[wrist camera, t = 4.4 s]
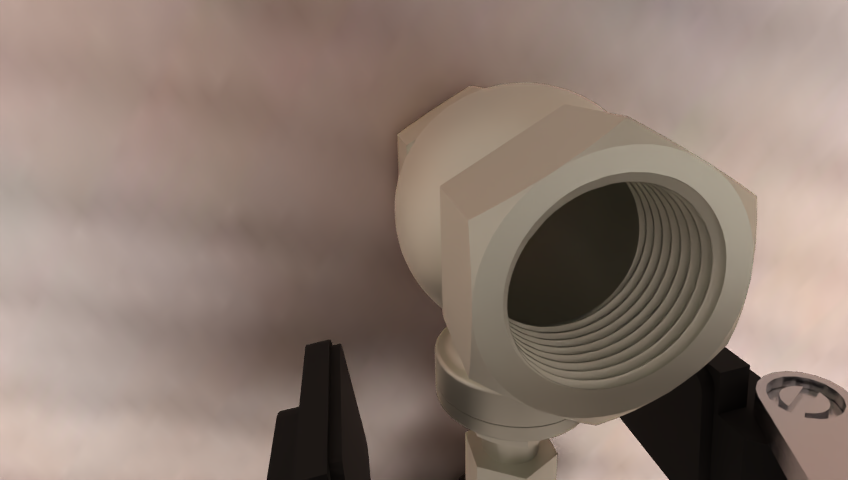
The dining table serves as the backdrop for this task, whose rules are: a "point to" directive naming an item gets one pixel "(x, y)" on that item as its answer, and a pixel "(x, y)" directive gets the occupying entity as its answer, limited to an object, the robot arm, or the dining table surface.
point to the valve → (563, 265)
